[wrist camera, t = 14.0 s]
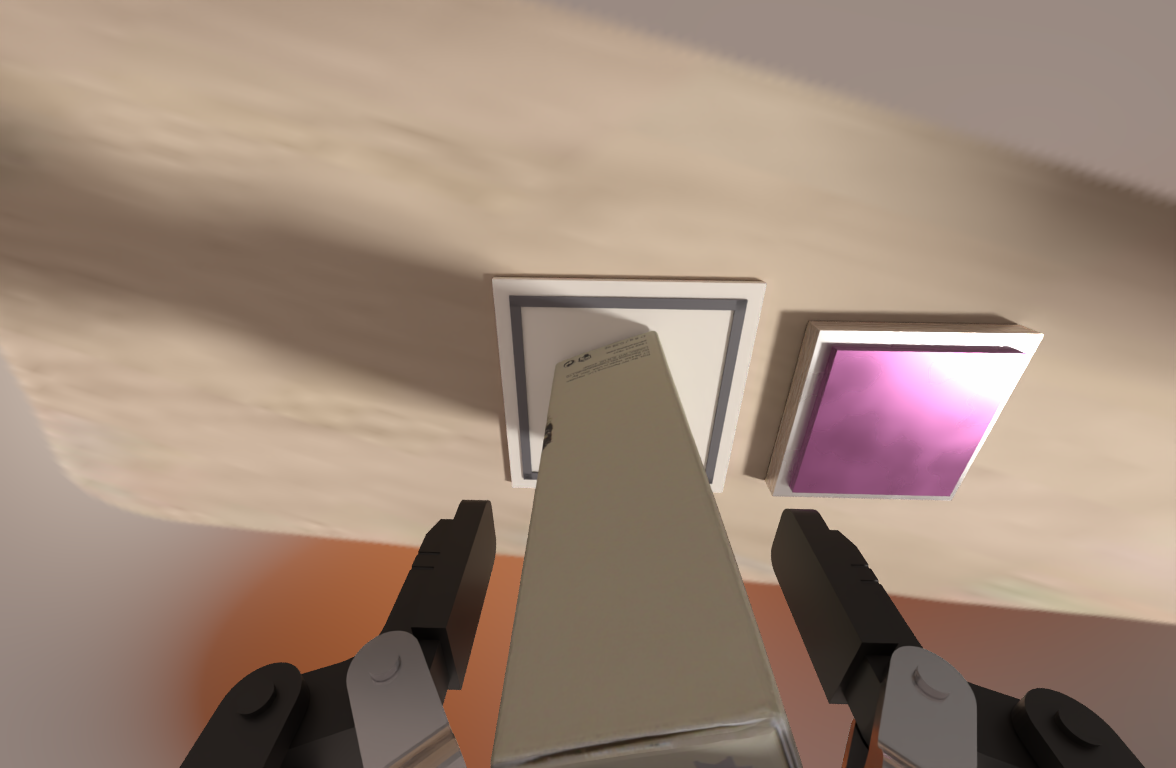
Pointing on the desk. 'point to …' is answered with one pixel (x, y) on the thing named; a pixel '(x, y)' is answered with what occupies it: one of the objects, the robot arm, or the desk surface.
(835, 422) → the ink pad
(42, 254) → the desk surface
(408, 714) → the robot arm
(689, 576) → the box
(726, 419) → the paper
